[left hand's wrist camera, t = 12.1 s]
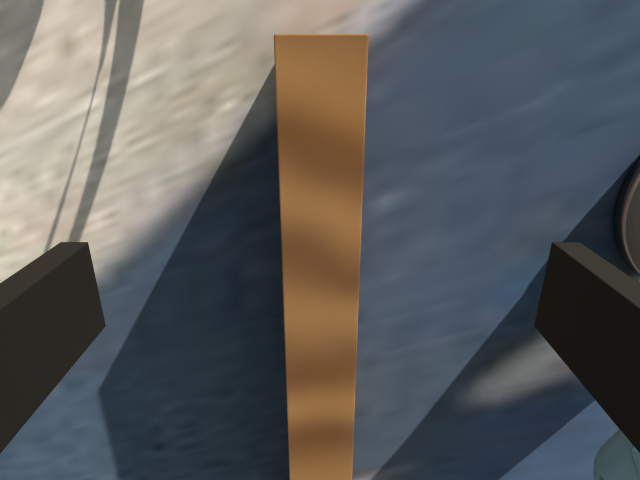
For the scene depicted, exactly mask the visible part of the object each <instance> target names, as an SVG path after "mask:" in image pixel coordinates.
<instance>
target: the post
mask: <svg viewBox="0 0 640 480" xmlns="http://www.w3.org/2000/svg"><path fill="white" fill-rule="evenodd" d="M274 53H275V81H276V109H277V138H278V166H279V194H280V222H281V251H282V279H283V307H284V336H285V364H286V392H287V420H288V449H289V477H290V480H352V463H353V436H354V410H355V383H356V356H357V330H358V303H359V276H360V250H361V223H362V196H363V170H364V143H365V116H366V90H367V63H368V34H275V35H274Z"/></svg>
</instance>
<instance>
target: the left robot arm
mask: <svg viewBox="0 0 640 480" xmlns="http://www.w3.org/2000/svg"><path fill="white" fill-rule="evenodd" d="M614 232H615V239H616V242H617V246H618V248H619V251H620V253H621V255H622V257H623V258H624V260H625V261H626V262H627V264H628V265H629V266H630V267H631V268H632V269H633V270H634V271H635V272H636V273H638V274H639V275H640V159H639V160H638V161H637V163H636V164H635V165H634V167H633V168H632V170H631V172H630V173H629V175H628V176H627V178H626V180H625V182H624V184H623V186H622V189H621V192H620V194H619V197H618V201H617V204H616V209H615V216H614ZM105 326H106V325H105V321H104V316H103V311H102V306H101V302H100V297H99V292H98V288H97V283H96V278H95V273H94V269H93V264H92V259H91V255H90V250H89V245H88V242H61V243H59V244H58V245H56V246H55V247H53V248H52V249H50V250H49V251H47V252H46V253H44V254H43V255H41V256H40V257H38V258H37V259H36V260H34V261H33V262H31V263H30V264H28V265H27V266H25V267H24V268H22V269H21V270H19V271H18V272H16V273H15V274H13V275H12V276H10V277H9V278H8V279H6V280H5V281H3V282H2V283H0V453H1V452H2V451H3V449H4V448H5V447H6V446H7V445H8V443H9V442H10V441H11V440H12V439H13V437H14V436H15V435H16V434H17V433H18V431H19V430H20V429H21V428H22V426H23V425H24V424H25V423H26V422H27V420H28V419H29V418H30V417H31V416H32V414H33V413H34V412H35V411H36V410H37V408H38V407H39V406H40V405H41V403H42V402H43V401H44V400H45V399H46V397H47V396H48V395H49V394H50V393H51V391H52V390H53V389H54V388H55V386H56V385H57V384H58V383H59V382H60V380H61V379H62V378H63V377H64V376H65V374H66V373H67V372H68V371H69V370H70V368H71V367H72V366H73V365H74V363H75V362H76V361H77V360H78V359H79V357H80V356H81V355H82V354H83V353H84V351H85V350H86V349H87V348H88V347H89V345H90V344H91V343H92V342H93V340H94V339H95V338H96V337H97V336H98V334H99V333H100V332H101V331H102V330H103V328H104V327H105ZM534 326H535V327H536V328H537V330H538V331H539V332H540V333H541V334H542V336H543V337H544V338H545V339H546V340H547V342H548V343H549V344H550V345H551V347H552V348H553V349H554V350H555V351H556V353H557V354H558V355H559V356H560V357H561V359H562V360H563V361H564V362H565V363H566V365H567V366H568V367H569V368H570V370H571V371H572V372H573V373H574V374H575V376H576V377H577V378H578V379H579V380H580V382H581V383H582V384H583V385H584V386H585V388H586V389H587V390H588V391H589V393H590V394H591V395H592V396H593V397H594V399H595V400H596V401H597V402H598V403H599V405H600V406H601V407H602V408H603V410H604V411H605V412H606V413H607V414H608V416H609V417H610V418H611V419H612V420H613V422H614V423H615V424H616V425H617V426H618V428H619V430H618V431H617V432H616V433H615V434H614V435H613V436H612V437H611V438H610V439H609V440H607V441H606V442H605V443H604V444H603V445H602V447H601V448H600V449H599V451H598V452H597V454H596V457H595V460H594V480H640V283H638V282H637V281H635V280H634V279H632V278H631V277H630V276H628V275H627V274H625V273H624V272H622V271H621V270H619V269H618V268H616V267H615V266H613V265H612V264H610V263H609V262H607V261H606V260H604V259H603V258H602V257H600V256H599V255H597V254H596V253H594V252H593V251H591V250H590V249H588V248H587V247H585V246H584V245H582V244H581V243H579V242H552V245H551V250H550V255H549V259H548V264H547V269H546V273H545V278H544V283H543V288H542V292H541V297H540V302H539V306H538V311H537V316H536V321H535V325H534Z"/></svg>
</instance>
